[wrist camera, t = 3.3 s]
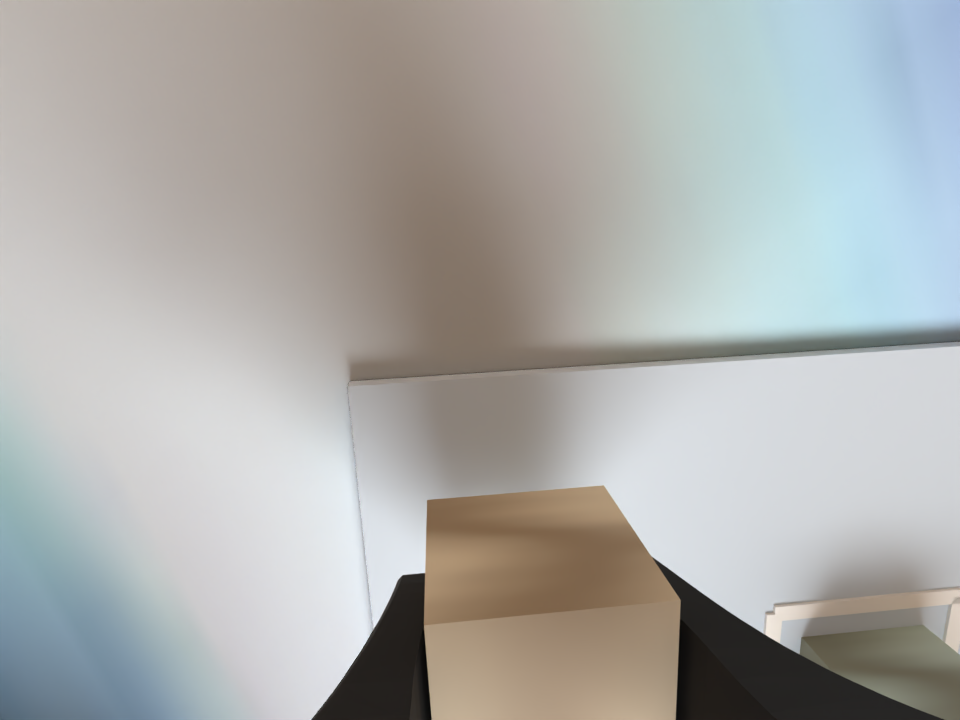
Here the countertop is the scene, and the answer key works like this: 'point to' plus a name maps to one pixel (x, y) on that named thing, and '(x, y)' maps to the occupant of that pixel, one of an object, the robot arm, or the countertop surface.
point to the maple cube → (546, 611)
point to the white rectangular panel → (703, 474)
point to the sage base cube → (894, 665)
